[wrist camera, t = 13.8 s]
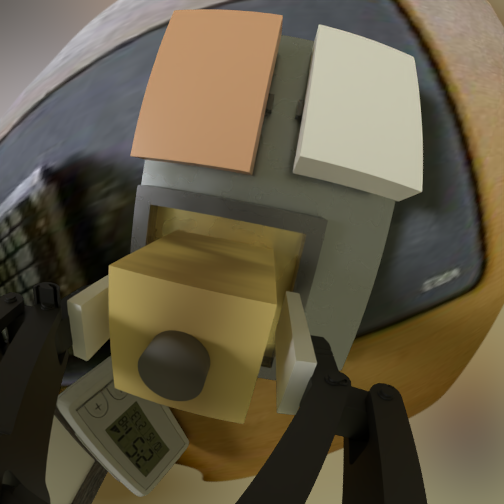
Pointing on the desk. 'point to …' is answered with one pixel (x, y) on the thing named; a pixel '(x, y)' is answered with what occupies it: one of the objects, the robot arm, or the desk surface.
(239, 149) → the orange tan rectangular block
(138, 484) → the digital clock
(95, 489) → the picture frame
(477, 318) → the desk surface
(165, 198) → the panel
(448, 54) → the desk surface
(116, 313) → the tan wooden block
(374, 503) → the robot arm
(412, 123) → the rocker plain
